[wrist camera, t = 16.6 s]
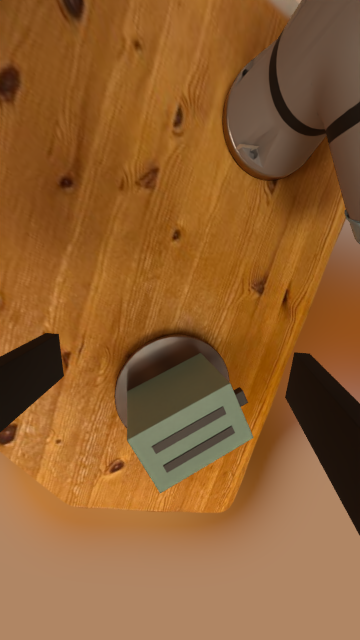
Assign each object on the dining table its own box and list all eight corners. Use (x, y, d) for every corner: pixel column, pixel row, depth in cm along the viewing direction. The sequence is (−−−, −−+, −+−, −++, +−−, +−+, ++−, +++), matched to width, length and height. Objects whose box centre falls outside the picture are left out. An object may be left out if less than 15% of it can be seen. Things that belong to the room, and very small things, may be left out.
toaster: (147, 459, 40) (156, 537, 28) (92, 369, 35) (75, 417, 23) (241, 405, 42) (286, 456, 30) (202, 314, 37) (237, 332, 25)
